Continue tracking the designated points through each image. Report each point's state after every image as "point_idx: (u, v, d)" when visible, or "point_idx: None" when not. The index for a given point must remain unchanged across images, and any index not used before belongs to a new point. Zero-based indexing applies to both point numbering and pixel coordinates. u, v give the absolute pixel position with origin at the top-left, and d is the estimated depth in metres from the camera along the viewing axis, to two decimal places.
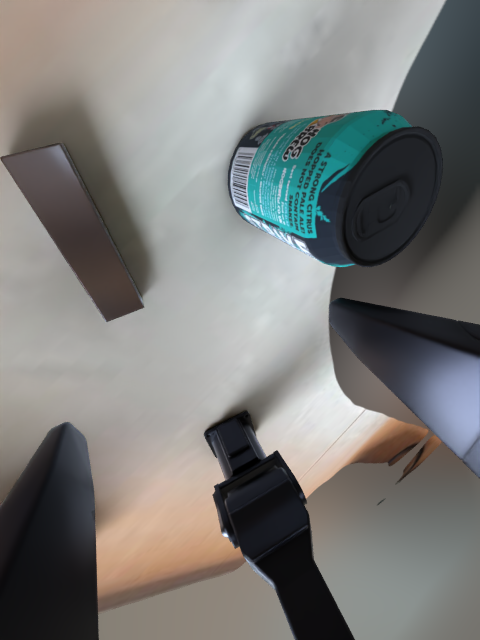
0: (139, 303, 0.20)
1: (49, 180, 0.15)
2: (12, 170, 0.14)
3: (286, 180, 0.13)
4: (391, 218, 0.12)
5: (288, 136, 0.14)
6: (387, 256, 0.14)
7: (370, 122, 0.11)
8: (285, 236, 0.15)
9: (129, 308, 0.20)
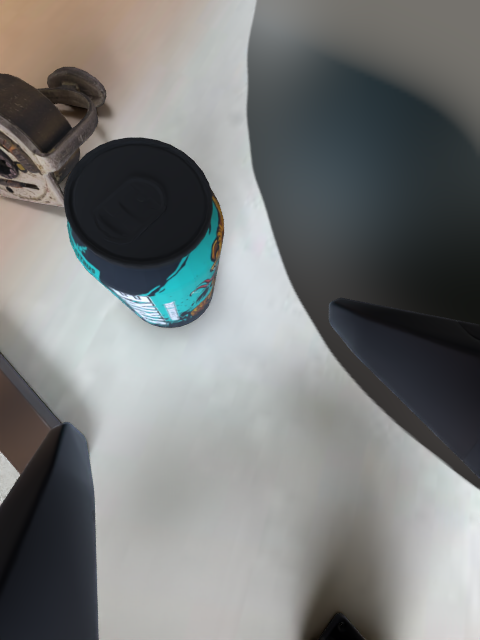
0: None
1: None
2: None
3: None
4: (151, 208, 0.11)
5: None
6: (191, 242, 0.11)
7: None
8: (127, 301, 0.14)
9: None
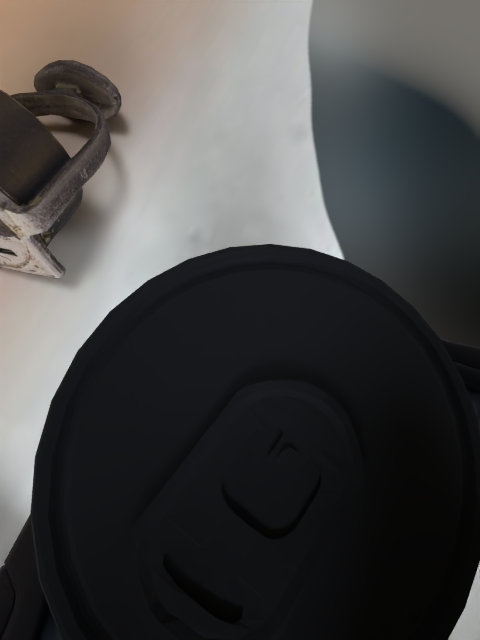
0: None
1: None
2: None
3: None
4: (319, 491, 0.03)
5: None
6: (442, 592, 0.03)
7: None
8: None
9: None
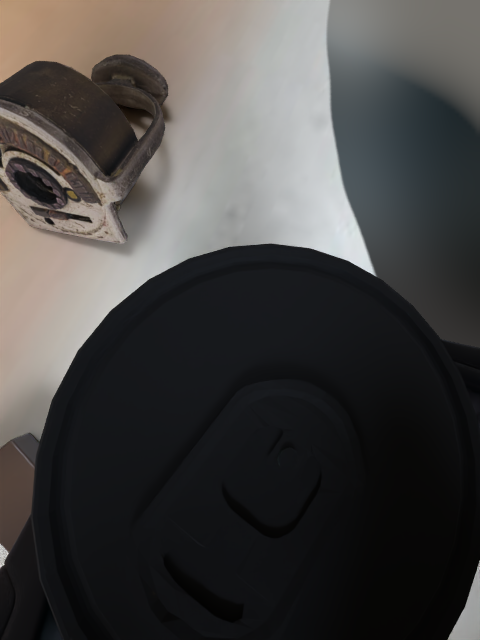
0: None
1: (4, 485, 0.13)
2: None
3: None
4: (319, 490, 0.03)
5: None
6: (442, 592, 0.03)
7: None
8: None
9: None
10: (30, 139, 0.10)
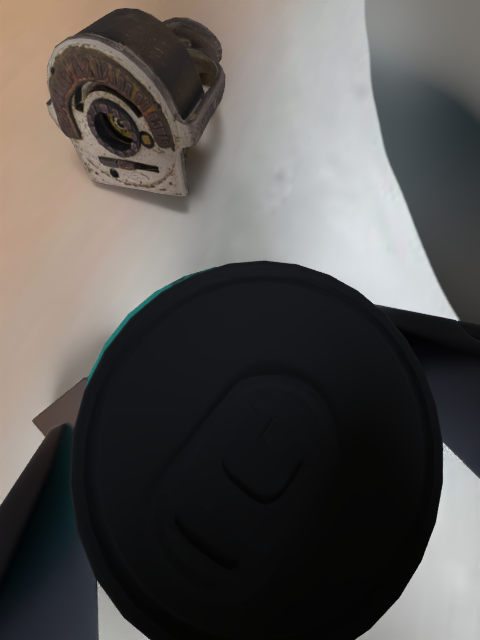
0: None
1: None
2: (43, 427, 0.13)
3: None
4: (301, 466, 0.04)
5: None
6: (404, 550, 0.04)
7: None
8: None
9: None
10: (122, 74, 0.11)
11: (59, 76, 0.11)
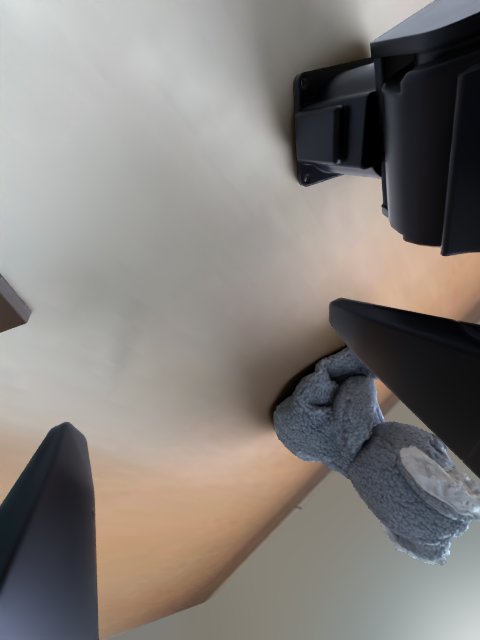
0: None
1: None
2: None
3: None
4: None
5: None
6: None
7: None
8: None
9: None
10: None
11: None
